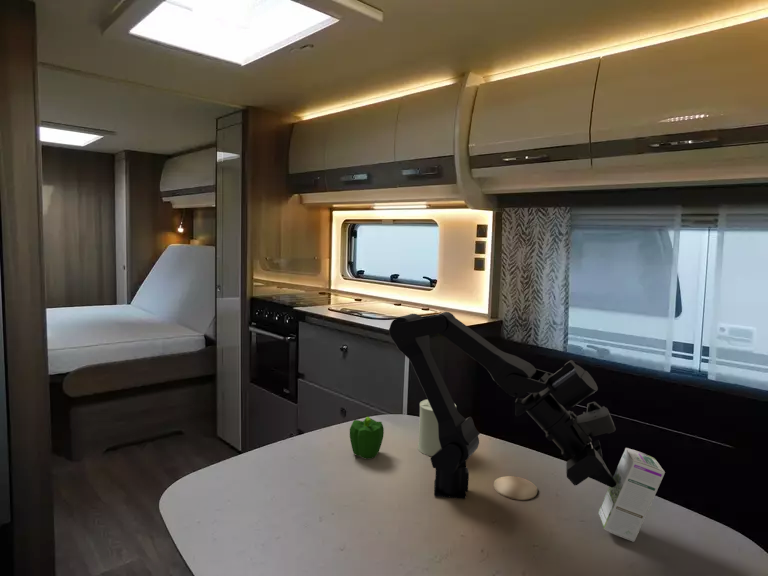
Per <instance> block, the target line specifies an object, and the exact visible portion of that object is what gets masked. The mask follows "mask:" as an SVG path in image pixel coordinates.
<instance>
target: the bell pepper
mask: <svg viewBox="0 0 768 576" xmlns="http://www.w3.org/2000/svg"><path fill="white" fill-rule="evenodd" d="M384 430H385V428H384V425H383V422H382V421H376V420H375V419H373V418H371V417H370V416H366V417H365V418H364V420H363V421H362V420H358V419H355V420H353V421H352V423H351V425H350V427H349V438H350V439H349V440H350V445H351V449H352V452H353V454H354V455H355V454H356V455H355V456H357V457H360V458H363V459H364V458H366V460H367V459H369V460H370V459H374V458H376V456H377V455H378V454H379V452H380V449H381V446H382V443H383V438H384V435H385V434H384V433H385V431H384Z"/></svg>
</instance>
